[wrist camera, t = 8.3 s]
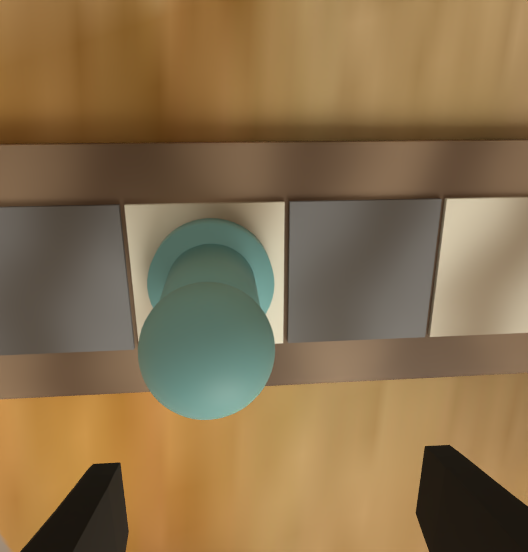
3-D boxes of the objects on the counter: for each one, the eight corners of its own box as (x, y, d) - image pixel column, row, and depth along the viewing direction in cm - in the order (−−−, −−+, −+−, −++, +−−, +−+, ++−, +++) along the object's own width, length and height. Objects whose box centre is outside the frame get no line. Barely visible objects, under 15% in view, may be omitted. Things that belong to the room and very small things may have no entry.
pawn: (271, 216, 17) (307, 289, 10) (271, 328, 19) (302, 461, 12) (146, 219, 17) (90, 297, 10) (156, 333, 18) (114, 473, 11)
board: (586, 138, 18) (606, 140, 17) (538, 362, 22) (553, 374, 21) (-52, 144, 16) (-69, 146, 16) (1, 388, 20) (-10, 402, 19)
